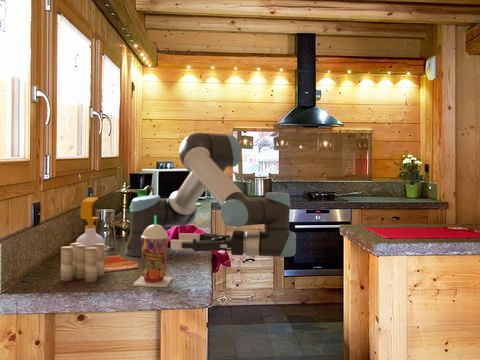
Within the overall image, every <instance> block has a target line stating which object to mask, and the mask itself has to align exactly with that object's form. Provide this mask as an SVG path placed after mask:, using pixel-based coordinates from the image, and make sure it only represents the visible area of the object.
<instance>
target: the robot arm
mask: <svg viewBox="0 0 480 360" xmlns="http://www.w3.org/2000/svg"><path fill="white" fill-rule="evenodd" d="M241 152H242V151H241V145H240V142H239V140H238V138H237V137H236V136H234V135H232V134H227V133H210V132H209V133H208V132H206V133H205V132H195V133H191V134H188V135H187V136H186V137H185V138H184V139H183V140H182V142H181V144H180V146H179V150H178V156H179V159H180V162H181V164H182V165H183V167H184V168H185V169H186V170H187V171H188V172H189V174H188V175H187V177H186V179H185V180H184V181H183V183H182V185H181V186H180V187H179V189H177V190H176V191H173V192H172V193H171V194H170V196H169V197H168V198H162V197H161V196H160V195H157V194H156V195H146V196H142V197H138V196H136V197H134V198H133V199H132V200H131V202H130V204H131V209H130V208H129V212H130V211H131V213H130V224H129V225H130V227H129V228H130V229H129V231H130V234H129V237H128V239H127V243H126V246H125V255H127V256H130V257H131V256H132V257H141V258H142V245H141V236H142V234H143V232H144V230H145V229H146V228H147V227H148V226H150V225H153V224H154V216H156V224H157V225H160V226H162V227H163V228H164V227H165V228H166V227H184V226H189V225H191V224H192V223H193V222H194V221H195V219H196V217H197V215H196V214H197V213H198V211H197V210H198V209H197V204H196V203H197V202H198V200H199V199H200V198H201V196H202V195H203V193H204V192H205V191H206V189H207V191H208V192H209V193H210V195H211V196H212V197H213V198H214V199H215V201H216V203H218V204H219V206H220V217H221V219H222V222H223V223H224V224H225V226H229V227H238V228H239V227H245V226H246V227H247V226H259V225H264V230H263V231H261V230H246V231H244V230H238V229H237V230H235V229H234V230H232V231H231V235H229V234H227V235H226V234H218V233H217V234H216V233H207V232H203V233H184V232H183V233H181V232H180V233H178V234H179V235H178V239H170V250H181V251H182V250H183V251H185V250H186V251H188V250H189V251H194V253H197V252H213V251H224V252H225V251H226V252H227V250H228V249H230V254H231V256H243V255H244V254H245V256H251V257H252V258H256V257H257V256H258V257H275V258H276V257H277V258H278V257H279V258H283V257H285V258H286V257H288V258H289V257H293V256H295V254H296V252H297V251H296V250H297V235H296V233H295V232H294V231H291V230H290V216H291V214H290V213H291V198H290V196H291V195H290V194H289V193H287V192H282V191H281V192H277V191H276V192H275V191H270V192H269V191H268V192H266V193H265V196H264V198H258V199H257V198H254V199H253V198H252V199H249V198H248V197H247V196H246V195H245V194H244V193H243V192H242V190H241V189H240V188H239V187H238V186H237V185H236V184H235V183H234V182H233V181H232V179H230V177H229V176H228V175H227V174H226V173H225V171H226V170H227V168H228V167H229V168H233V167H236V166H238V164H239V162H240V159H241V155H242V154H241Z"/></svg>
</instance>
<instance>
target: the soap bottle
mask: <svg viewBox="0 0 480 360" xmlns="http://www.w3.org/2000/svg"><path fill="white" fill-rule="evenodd" d="M97 200H99V197H96V196H95V197H94V196H91V197H90V196H88V197H86V198H84V199H83V200H82V201H81V202H80V218H81V219H82V220H86V222H87V225H85V229H84V230H85V232H84V233H83V234H81V235H80V236H79V237H78V238H77V239H76V241H75V243H82V245H87V248H88V247H93V244H105V240H104V237H102V236H101V235H100V234H99V233H97V232H96V230H97V229H96V225H94V223H95V221H96V220H97V219H100V217H99V216H93V205H94V203H95V202H97Z"/></svg>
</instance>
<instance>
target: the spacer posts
mask: <svg viewBox="0 0 480 360" xmlns="http://www.w3.org/2000/svg"><path fill="white" fill-rule="evenodd" d="M105 246H106V245H105V243H104V244H93V247H88V248H87V245H82V243H76V242H72V243H69V246H61V247H60V281H61V282H62V281H63V282H70V281H73V280H74V279H84V282H88V283H92V282H97V281H98V280H97V278H98V277H103V276H105V253H106V252H105V250H106V248H105Z"/></svg>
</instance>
